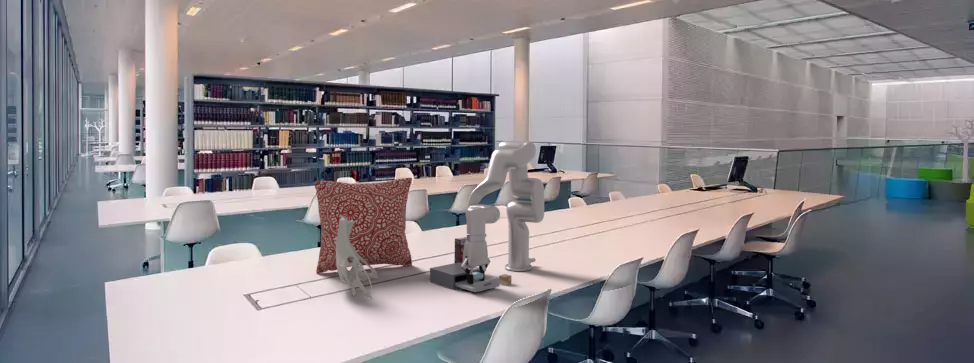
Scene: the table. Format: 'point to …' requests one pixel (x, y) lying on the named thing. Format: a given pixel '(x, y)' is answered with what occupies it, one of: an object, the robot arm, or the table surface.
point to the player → (449, 275)
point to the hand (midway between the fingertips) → (475, 281)
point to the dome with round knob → (477, 275)
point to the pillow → (365, 221)
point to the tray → (478, 284)
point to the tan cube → (505, 279)
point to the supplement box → (459, 249)
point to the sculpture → (347, 251)
